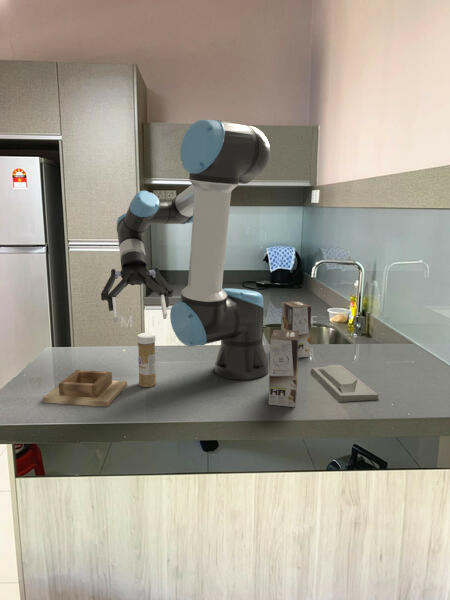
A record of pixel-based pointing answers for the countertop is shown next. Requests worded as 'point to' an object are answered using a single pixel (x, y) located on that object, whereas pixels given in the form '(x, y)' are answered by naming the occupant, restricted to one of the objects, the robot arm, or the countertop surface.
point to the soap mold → (343, 384)
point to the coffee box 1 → (298, 323)
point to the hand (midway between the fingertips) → (140, 318)
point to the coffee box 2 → (283, 367)
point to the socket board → (86, 389)
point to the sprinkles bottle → (147, 359)
